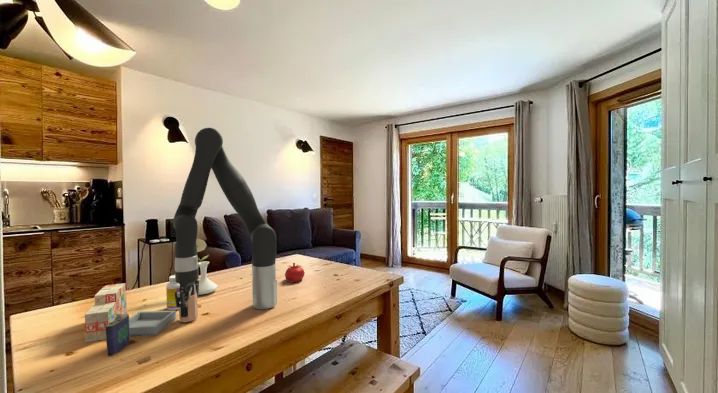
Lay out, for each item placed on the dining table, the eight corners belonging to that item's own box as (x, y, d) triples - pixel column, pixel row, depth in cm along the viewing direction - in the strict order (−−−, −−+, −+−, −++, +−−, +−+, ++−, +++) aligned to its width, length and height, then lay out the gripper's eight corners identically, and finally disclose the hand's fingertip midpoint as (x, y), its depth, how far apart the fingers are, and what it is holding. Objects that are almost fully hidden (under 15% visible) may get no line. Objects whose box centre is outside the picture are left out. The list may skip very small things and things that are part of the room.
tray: (176, 318, 117) (175, 310, 117) (155, 335, 104) (155, 327, 104) (139, 319, 116) (139, 311, 116) (114, 337, 103) (114, 328, 103)
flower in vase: (221, 287, 150) (220, 236, 149) (211, 296, 139) (209, 240, 137) (194, 288, 150) (192, 236, 148) (181, 297, 138) (179, 240, 137)
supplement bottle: (177, 311, 123) (176, 279, 123) (162, 310, 125) (161, 278, 124) (189, 304, 130) (188, 274, 129) (175, 303, 131) (174, 273, 130)
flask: (123, 340, 101) (122, 308, 100) (133, 340, 101) (132, 307, 101) (104, 356, 92) (102, 321, 91) (115, 356, 92) (114, 320, 92)
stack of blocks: (109, 339, 102) (107, 302, 101) (84, 343, 100) (83, 305, 99) (127, 313, 122) (125, 282, 121) (107, 316, 119) (105, 284, 118)
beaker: (199, 314, 119) (199, 291, 118) (193, 321, 113) (192, 297, 113) (184, 315, 118) (183, 292, 118) (177, 322, 113) (176, 297, 112)
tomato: (308, 279, 164) (308, 262, 163) (294, 284, 155) (295, 266, 155) (294, 276, 169) (294, 259, 168) (280, 280, 160) (280, 263, 160)
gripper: (188, 273, 108) (190, 321, 109) (205, 262, 122) (207, 305, 123) (165, 274, 107) (167, 322, 108) (185, 263, 122) (187, 305, 123)
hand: (188, 312), depth 116 cm, fingers closed on beaker, 5 cm apart
